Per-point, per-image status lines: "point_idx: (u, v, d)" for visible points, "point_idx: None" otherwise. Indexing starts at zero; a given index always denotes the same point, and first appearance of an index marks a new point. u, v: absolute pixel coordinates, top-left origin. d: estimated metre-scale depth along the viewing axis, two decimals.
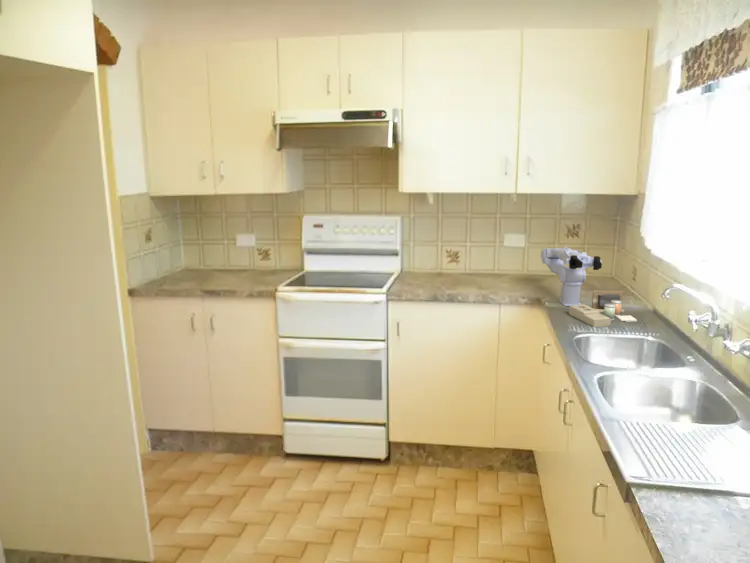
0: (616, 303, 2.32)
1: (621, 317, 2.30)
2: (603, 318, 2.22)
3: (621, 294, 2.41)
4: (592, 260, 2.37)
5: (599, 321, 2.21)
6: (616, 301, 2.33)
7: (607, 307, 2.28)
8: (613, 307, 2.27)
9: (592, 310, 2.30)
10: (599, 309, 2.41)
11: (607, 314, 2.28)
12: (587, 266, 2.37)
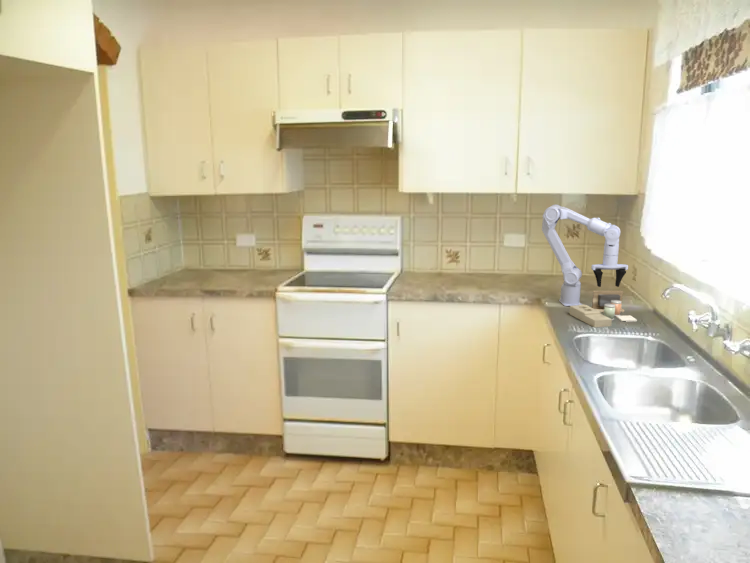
0: (616, 303, 2.32)
1: (621, 317, 2.30)
2: (604, 319, 2.22)
3: (621, 294, 2.41)
4: None
5: (600, 321, 2.20)
6: (616, 301, 2.33)
7: (607, 307, 2.28)
8: (613, 307, 2.27)
9: (593, 310, 2.29)
10: (599, 309, 2.41)
11: (607, 314, 2.28)
12: (606, 267, 2.40)
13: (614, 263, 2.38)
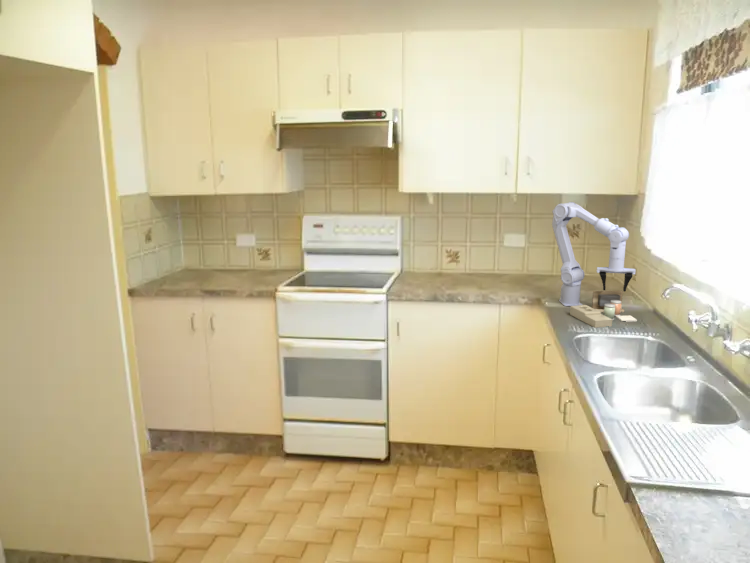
0: (616, 303, 2.32)
1: (621, 317, 2.30)
2: (605, 319, 2.21)
3: (621, 294, 2.41)
4: None
5: (600, 322, 2.20)
6: (616, 301, 2.33)
7: (607, 307, 2.28)
8: (613, 307, 2.27)
9: (593, 311, 2.29)
10: (599, 309, 2.41)
11: (607, 314, 2.28)
12: None
13: (618, 266, 2.31)
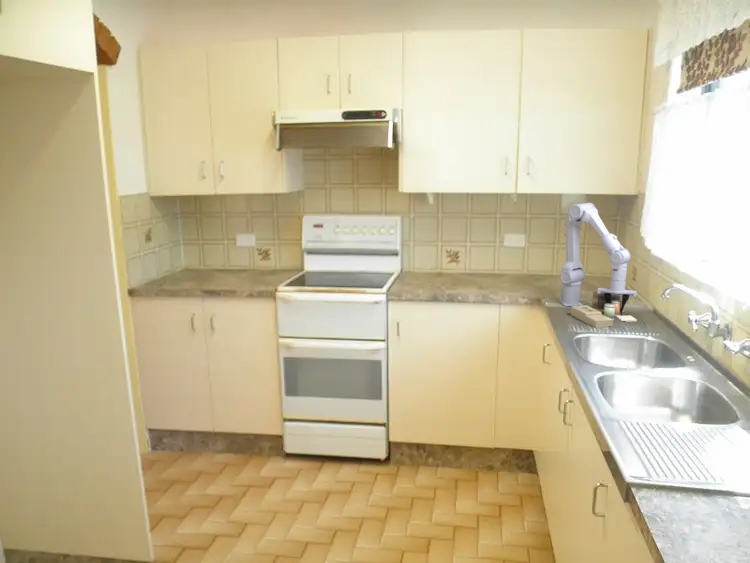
0: (616, 303, 2.32)
1: (621, 317, 2.30)
2: (605, 319, 2.21)
3: None
4: None
5: (601, 322, 2.20)
6: (616, 301, 2.33)
7: (607, 307, 2.28)
8: (613, 307, 2.27)
9: (594, 311, 2.28)
10: (599, 309, 2.41)
11: (607, 314, 2.28)
12: None
13: (619, 288, 2.30)
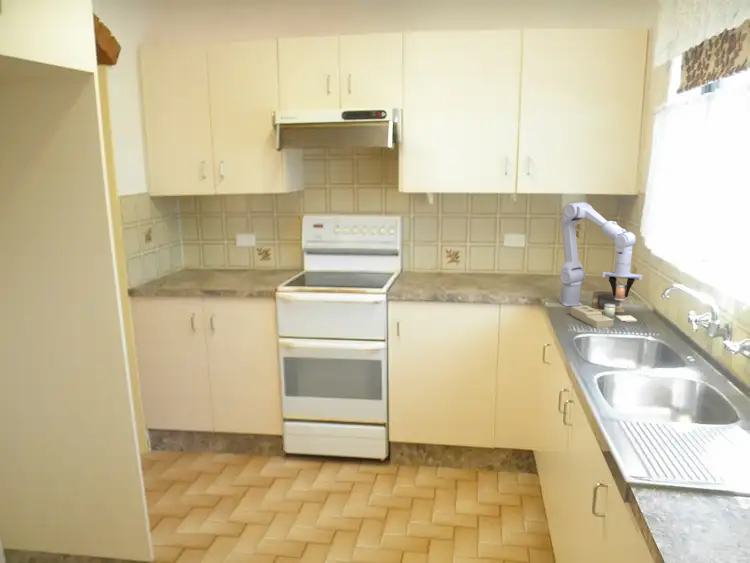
0: (621, 287, 2.29)
1: (621, 317, 2.30)
2: (606, 319, 2.21)
3: None
4: None
5: (601, 322, 2.19)
6: (621, 285, 2.30)
7: (607, 307, 2.28)
8: (613, 307, 2.27)
9: (594, 311, 2.28)
10: (599, 309, 2.41)
11: (607, 314, 2.28)
12: (616, 276, 2.29)
13: (623, 272, 2.26)
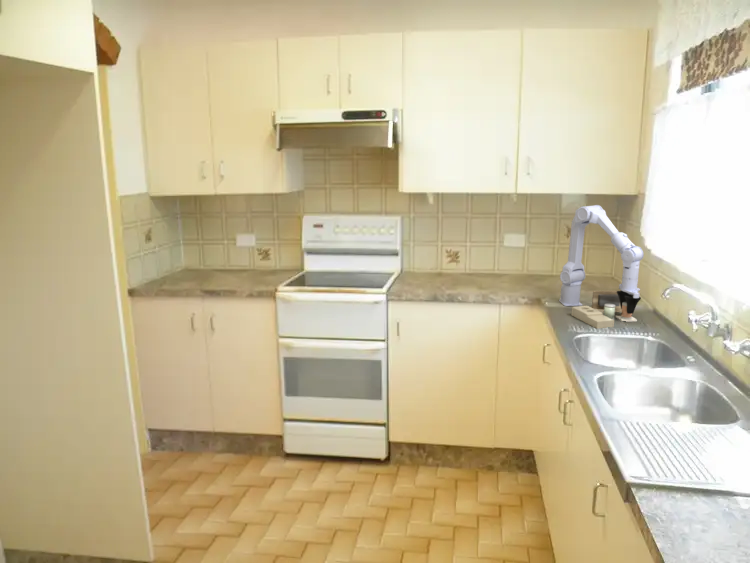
0: (623, 304, 2.28)
1: None
2: (607, 320, 2.20)
3: None
4: None
5: (602, 323, 2.19)
6: (626, 303, 2.28)
7: (607, 307, 2.28)
8: (613, 307, 2.27)
9: (595, 311, 2.28)
10: (599, 309, 2.41)
11: (607, 314, 2.28)
12: None
13: (623, 286, 2.26)
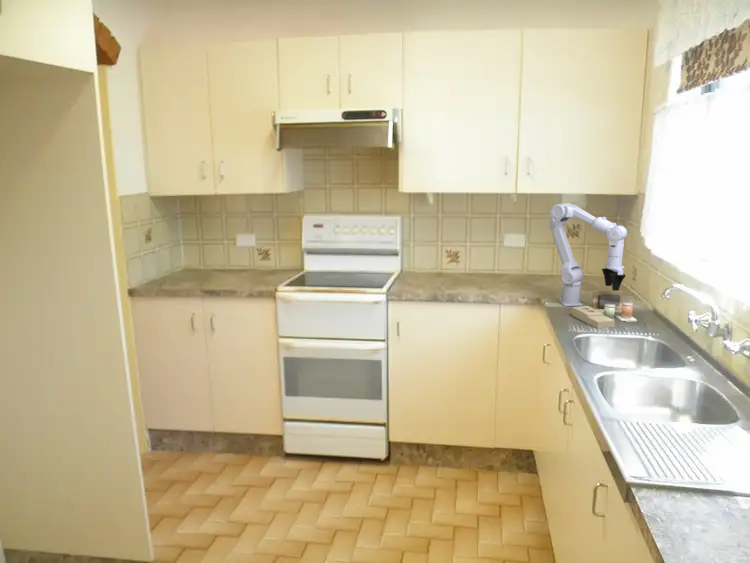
0: (622, 304, 2.28)
1: None
2: (607, 320, 2.20)
3: (621, 294, 2.41)
4: None
5: (603, 323, 2.19)
6: (626, 303, 2.28)
7: (607, 307, 2.28)
8: (613, 307, 2.27)
9: (596, 312, 2.27)
10: (599, 309, 2.41)
11: (607, 314, 2.28)
12: None
13: (608, 263, 2.35)
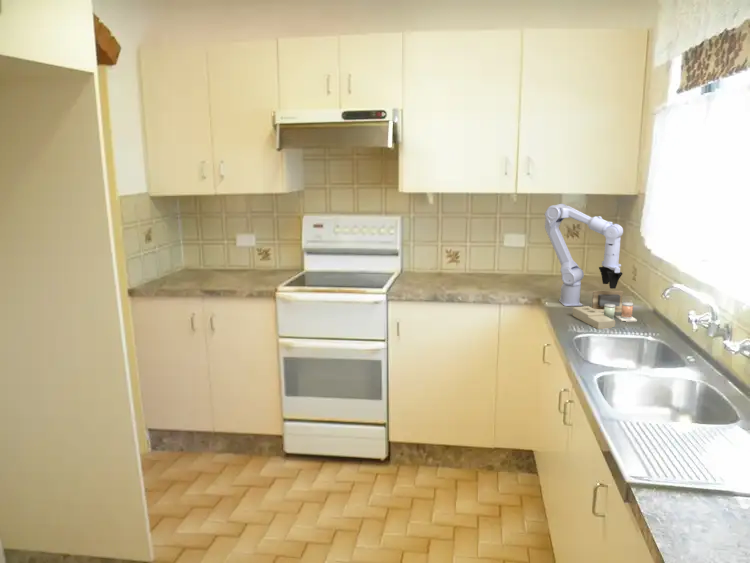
0: (622, 304, 2.28)
1: None
2: (608, 320, 2.20)
3: (621, 294, 2.41)
4: None
5: (603, 323, 2.18)
6: (626, 303, 2.28)
7: (607, 307, 2.28)
8: (613, 307, 2.27)
9: (596, 312, 2.27)
10: (599, 309, 2.41)
11: (607, 314, 2.28)
12: None
13: (605, 261, 2.37)
